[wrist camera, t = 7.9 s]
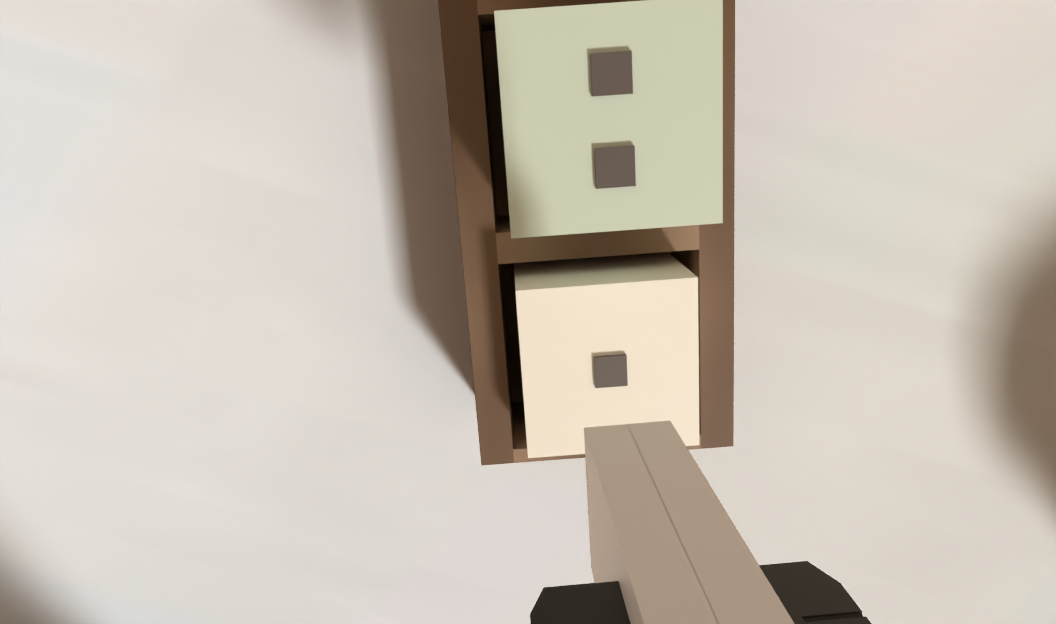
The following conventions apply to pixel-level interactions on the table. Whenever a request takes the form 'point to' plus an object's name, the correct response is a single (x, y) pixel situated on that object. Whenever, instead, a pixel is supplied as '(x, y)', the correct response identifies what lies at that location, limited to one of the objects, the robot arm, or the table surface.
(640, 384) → the key one
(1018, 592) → the table surface
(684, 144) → the key two
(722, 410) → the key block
